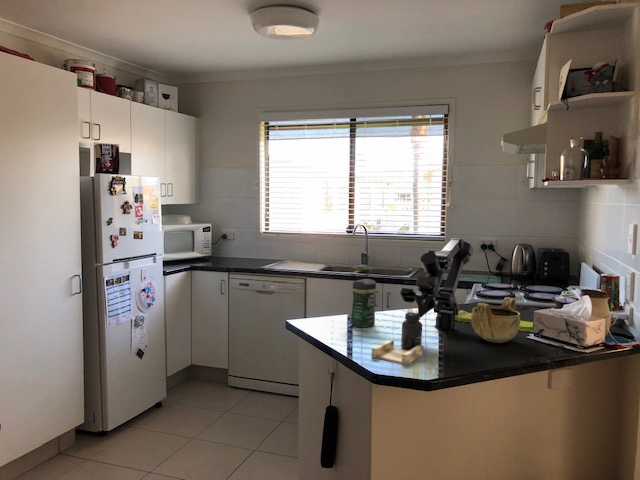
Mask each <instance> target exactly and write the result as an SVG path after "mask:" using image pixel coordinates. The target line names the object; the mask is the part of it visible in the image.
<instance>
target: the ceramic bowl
mask: <svg viewBox="0 0 640 480" xmlns="http://www.w3.org/2000/svg"><path fill="white" fill-rule="evenodd" d="M515 306H516V299H515V298H513V297H508V296H507V297H504V299H502V303H501V306H497V307H496V306H490V304H489V303H483V302H482V303H481V302H478V303H477V305H476V307H473V308H472V311H471V313H472V315H471V321H472V323H471V326H472V328H473V331H474V333H475V334H477V335H478V337H480V338H481V339H482V340H485V341H487V342H489V343H494V344H503V343H506V342H509V341H510V340H513V338H515V337H516V336H517V334H518V332H519V331H518V330H519V327H520V321H521V314H520V312H519V311H517V310H515Z"/></svg>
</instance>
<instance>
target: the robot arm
mask: <svg viewBox="0 0 640 480" xmlns="http://www.w3.org/2000/svg"><path fill="white" fill-rule="evenodd" d="M473 255H474V248H473V246H472V244H471V243H470V242H467V241H465V240H464V239H463V238H459V237H452V238H450V239H449V241H448V242H447V244H446V245H445V246H444V247H443V248H441V250H440V251H439V250H438V251H435V250H431V249H429V250H428V252H426V253H425V252H424V253H423V254H422V255H421V256H420V262H421V265H422V268H423V270H424V272H425V273H426V276H421V275H419V276H417V279H416V283H415V286H417V287H418V288H417V290H418V291H416V292H415V291H414V289H413V288H412V287H402V288H401V290H400V292H399V293H400V297H401V298H402V300H403V302H404V303H411V304H412V303H415V302H416V304H417V313H418V314H420V318H423V316H425V315H426V314H428V312H430V311H431V310H432V309H433V313H435V314H436V317H435V325H434V328H435V329H438V330H440V331H442V332H443V331H456V330H457V329H458V328H457V327H456V325H455V324H456V321H455V315H458V313H459V311H460V307H459V304H458V301H457V297H456V294H455V293H456V290H457V287H458V284H459V280H460V278H461V274H462V271H463V268H464V266H465V265H466V264H468V263H469V262H470V261H471V259H472V257H473ZM444 271H448V272H447V276H446V279H445V276H444V275H445V273H444ZM444 280H445V282H444V285H443V287H442V288H440V286H441V284H442V282H443V281H444Z"/></svg>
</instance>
